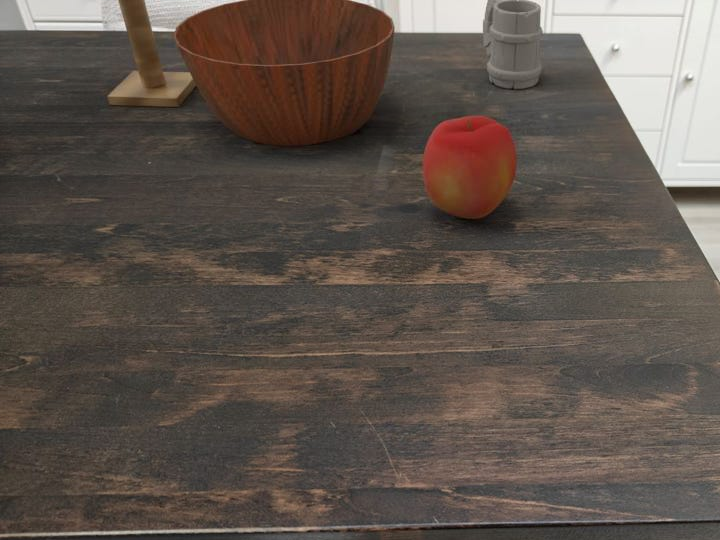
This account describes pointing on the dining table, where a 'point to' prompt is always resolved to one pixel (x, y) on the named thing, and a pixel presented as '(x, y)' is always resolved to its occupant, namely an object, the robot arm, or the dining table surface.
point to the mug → (513, 42)
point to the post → (148, 66)
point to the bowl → (289, 66)
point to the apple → (469, 166)
